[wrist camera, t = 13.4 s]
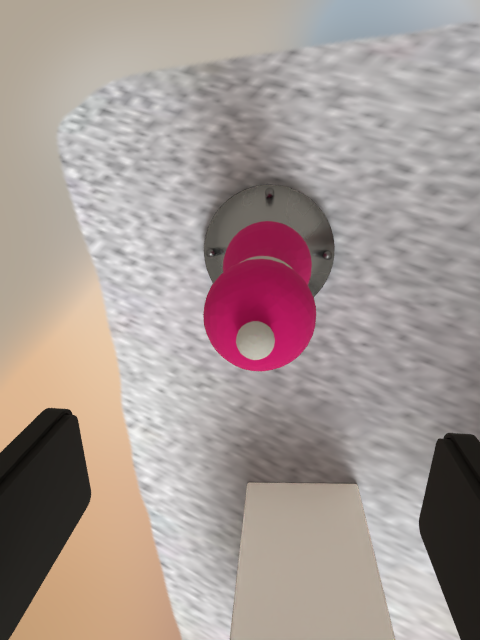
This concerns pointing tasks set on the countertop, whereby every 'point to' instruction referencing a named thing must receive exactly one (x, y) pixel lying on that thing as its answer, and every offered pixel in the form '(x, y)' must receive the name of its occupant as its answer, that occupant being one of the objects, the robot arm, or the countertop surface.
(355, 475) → the countertop surface
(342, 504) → the gable box
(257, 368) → the pepper mill
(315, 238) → the grey metal disc
